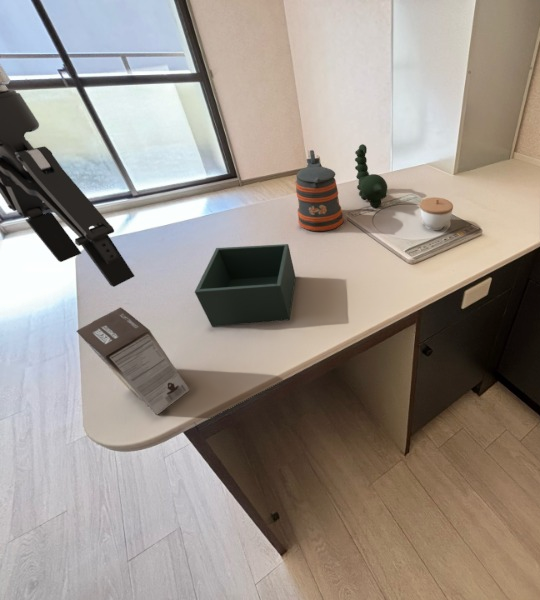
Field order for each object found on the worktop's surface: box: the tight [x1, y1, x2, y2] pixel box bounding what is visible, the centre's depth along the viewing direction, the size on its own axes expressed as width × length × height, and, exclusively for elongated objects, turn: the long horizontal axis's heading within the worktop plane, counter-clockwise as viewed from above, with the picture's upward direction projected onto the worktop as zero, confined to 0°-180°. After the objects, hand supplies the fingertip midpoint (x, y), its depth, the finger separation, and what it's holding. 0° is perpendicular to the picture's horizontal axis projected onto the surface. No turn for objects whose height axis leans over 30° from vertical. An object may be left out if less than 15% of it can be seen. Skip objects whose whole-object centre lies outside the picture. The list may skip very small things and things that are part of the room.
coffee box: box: [76, 307, 190, 416], centre depth 54 cm, size 9×6×16 cm
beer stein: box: [295, 149, 344, 232], centre depth 105 cm, size 19×15×20 cm
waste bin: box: [194, 243, 296, 328], centre depth 75 cm, size 17×17×10 cm
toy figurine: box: [354, 143, 388, 208], centre depth 118 cm, size 9×19×25 cm
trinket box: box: [419, 196, 454, 231], centre depth 107 cm, size 11×11×9 cm
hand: (95, 268), depth 46 cm, fingers open, 13 cm apart
